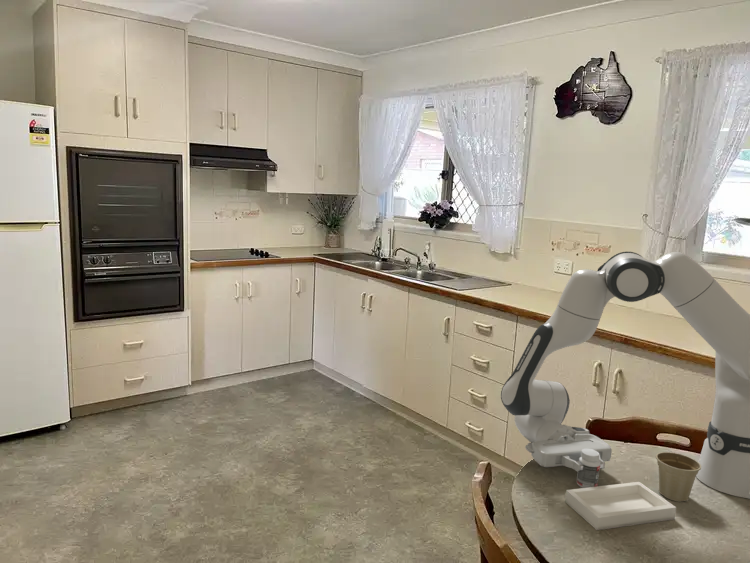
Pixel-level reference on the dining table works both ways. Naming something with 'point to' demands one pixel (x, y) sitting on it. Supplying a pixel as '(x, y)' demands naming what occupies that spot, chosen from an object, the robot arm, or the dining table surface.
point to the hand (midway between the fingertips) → (591, 467)
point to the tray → (619, 505)
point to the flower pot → (676, 475)
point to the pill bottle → (589, 469)
